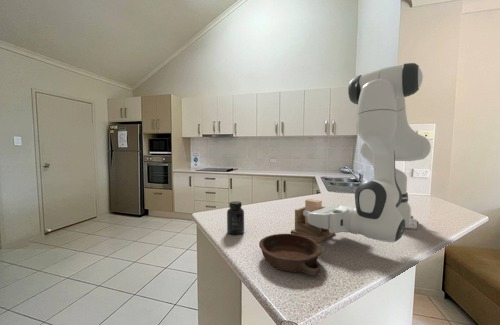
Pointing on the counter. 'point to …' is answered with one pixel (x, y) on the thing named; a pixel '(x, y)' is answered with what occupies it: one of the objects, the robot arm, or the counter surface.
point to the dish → (292, 253)
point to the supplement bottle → (235, 218)
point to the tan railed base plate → (309, 228)
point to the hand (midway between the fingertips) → (311, 210)
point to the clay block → (312, 208)
